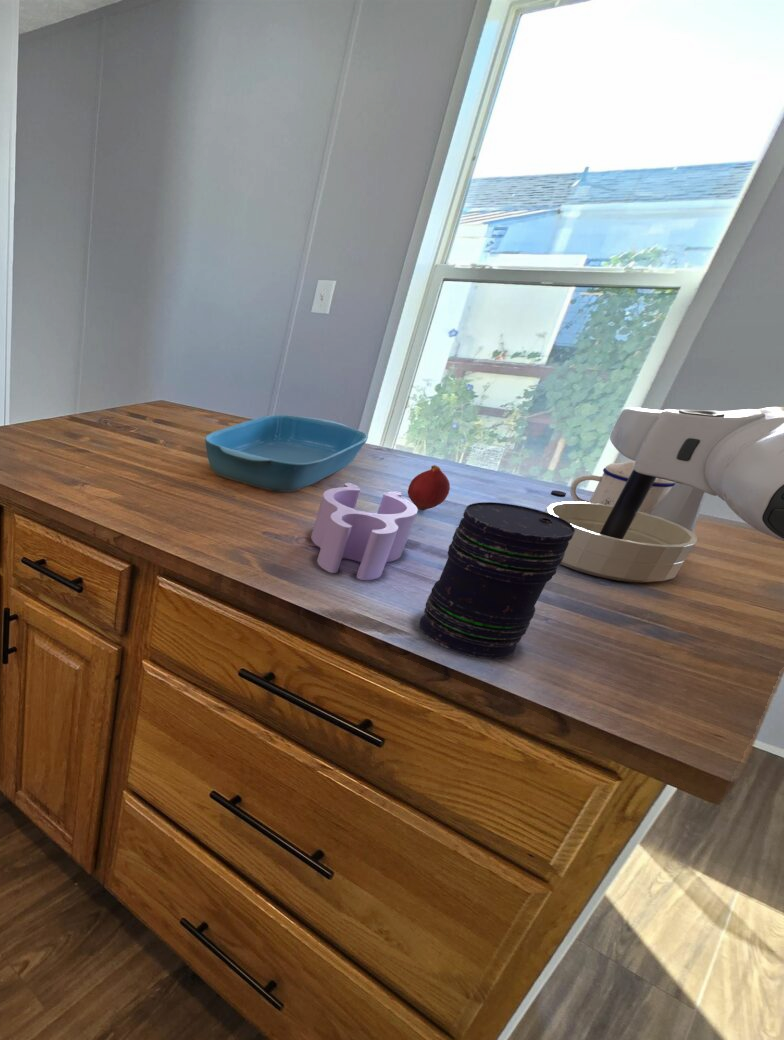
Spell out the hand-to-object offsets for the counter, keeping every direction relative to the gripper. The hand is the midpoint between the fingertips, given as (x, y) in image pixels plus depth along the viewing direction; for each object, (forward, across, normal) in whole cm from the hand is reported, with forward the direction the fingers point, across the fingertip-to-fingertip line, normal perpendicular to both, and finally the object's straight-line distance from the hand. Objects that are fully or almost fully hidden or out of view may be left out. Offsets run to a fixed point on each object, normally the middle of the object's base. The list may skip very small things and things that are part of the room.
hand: (722, 425), depth 73 cm
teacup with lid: (+35, -3, +24) cm, 42 cm away
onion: (+24, +23, +23) cm, 41 cm away
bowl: (+16, 0, +23) cm, 28 cm away
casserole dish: (+33, +48, +23) cm, 63 cm away
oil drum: (-20, +17, +23) cm, 35 cm away
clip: (-1, +31, +23) cm, 39 cm away
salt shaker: (+29, -9, +24) cm, 38 cm away
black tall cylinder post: (+16, 0, +22) cm, 28 cm away
